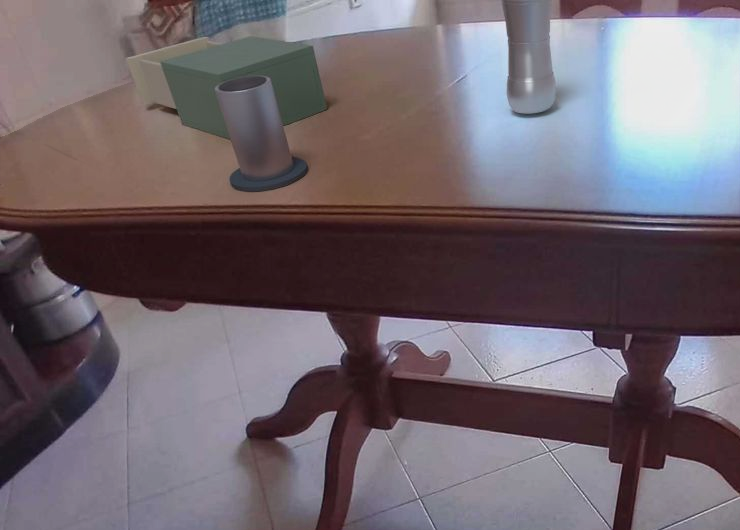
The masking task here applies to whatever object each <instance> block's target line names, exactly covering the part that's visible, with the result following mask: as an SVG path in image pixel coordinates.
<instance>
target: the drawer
mask: <svg viewBox="0 0 740 530" xmlns="http://www.w3.org/2000/svg"><path fill="white" fill-rule="evenodd" d="M221 44H225V43H223V42H217V41H211V40H210V37H209V36H202V37H199V38H194V39H190V40H187V41H184V42H180V43H176V44H173V45H168V46H166V47H162V48H159V49H155V50H151V51H150V50H149V51H147V52H143V53H139V54H136V55H131V56H129V57H125V58H124V59H125V62H126V64H127V67H128V70H129V72H130V75H131V78H132V80H133V83H134V86H135V88H136V91H137V93H138V97H139V99H140V101H141V104H142V105H144V106H149V105H151V104H158V105H160V106H161V105H162V106H165V107H167V108H172V109H175V110H177V108H176V106H175V103H174V100H173V97H172V94H171V92H170V89H169V86H168V83H167V80H166V78H165V75H164V72H163V68H162V66H161V64H160V62H161V61H164V60H168V59H171V58H175V57H179V56H182V55H186V54H189V53H193V52H196V51H200V50H203V49H207V48H210V47H214V46H218V45H221Z"/></svg>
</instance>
